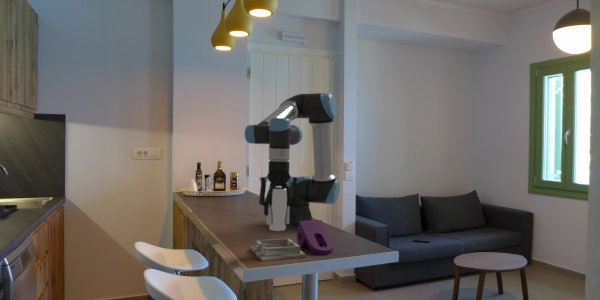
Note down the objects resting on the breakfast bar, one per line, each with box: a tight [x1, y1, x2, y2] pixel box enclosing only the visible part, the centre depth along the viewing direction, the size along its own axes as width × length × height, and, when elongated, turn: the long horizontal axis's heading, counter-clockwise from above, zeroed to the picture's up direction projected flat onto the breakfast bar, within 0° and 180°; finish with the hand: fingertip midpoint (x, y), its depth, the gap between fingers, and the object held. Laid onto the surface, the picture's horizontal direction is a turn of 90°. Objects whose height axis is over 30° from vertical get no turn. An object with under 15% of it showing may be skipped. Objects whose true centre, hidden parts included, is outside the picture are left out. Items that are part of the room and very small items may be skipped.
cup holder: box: [250, 237, 307, 262], centre depth 148 cm, size 16×16×4 cm
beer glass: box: [269, 186, 288, 232], centre depth 148 cm, size 7×7×15 cm
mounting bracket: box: [296, 219, 335, 255], centre depth 156 cm, size 9×8×18 cm
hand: (277, 223), depth 148 cm, fingers closed on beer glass, 6 cm apart
